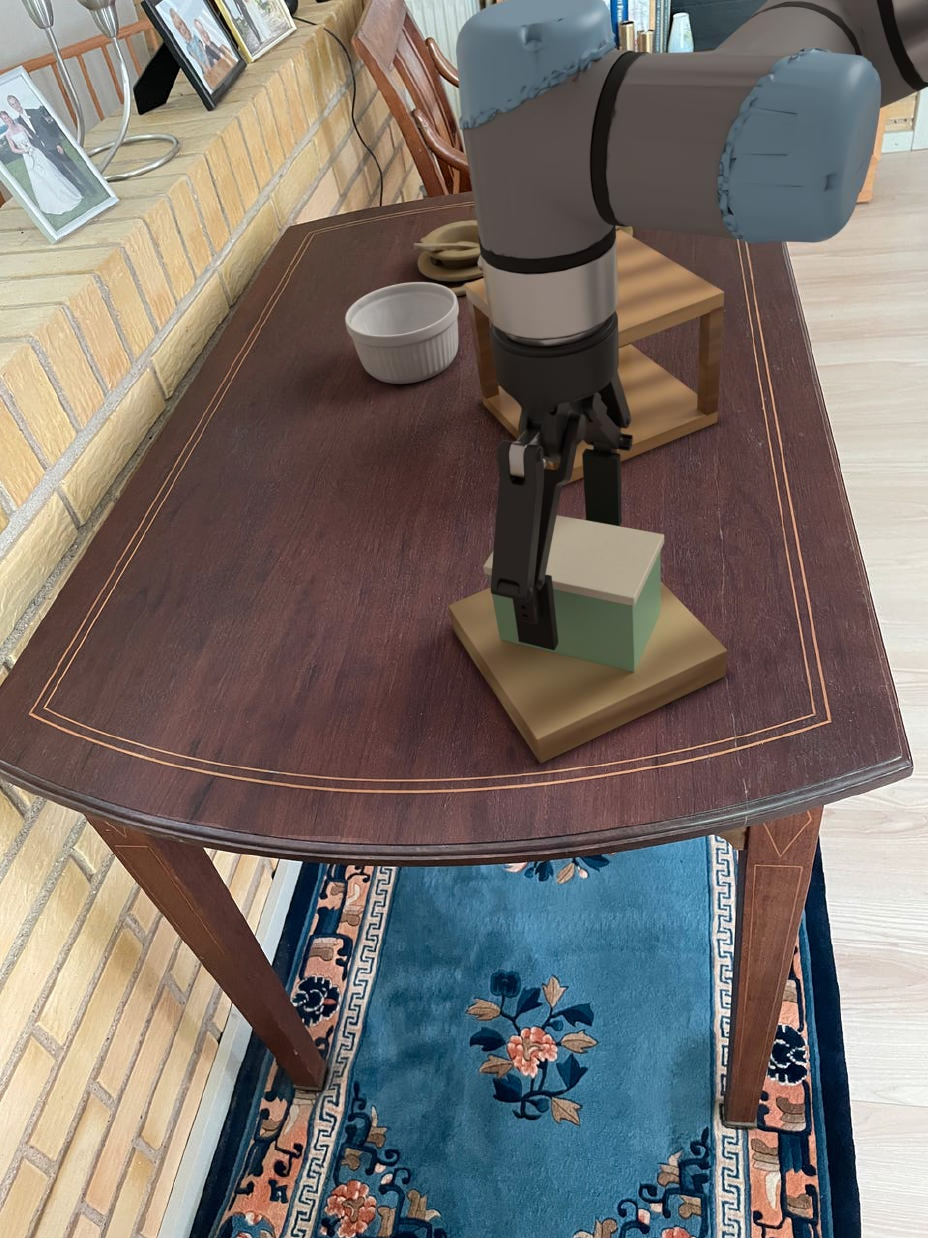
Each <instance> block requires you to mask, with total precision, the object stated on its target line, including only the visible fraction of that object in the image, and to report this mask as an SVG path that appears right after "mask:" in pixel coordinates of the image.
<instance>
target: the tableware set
mask: <svg viewBox="0 0 928 1238" xmlns="http://www.w3.org/2000/svg"><path fill="white" fill-rule="evenodd" d="M633 228H634V227H631V226H629V227H622V226H616V231H618V230H622V231H623V232H625V233H627V234H628V235H630V236H632V237H633V235H634V230H633ZM478 237H479V232H478V225H477V219H471V220H461V221H455V222H451V223H448V224H445V225H442V226H440V227H437V228H436V229H434V230H432V231H431V232H429V233H428V234H427V235H426V236H424V237H421V239H420V240H419V241H420V242H414V243H413V246H412V249H413V250H414V251H415V250H416V251H420V252H421V253H420V255H419V256H418V258H417V268H418V271H419V272H420V273H421V274H422V275H424V276H425V277H427V278H429V279H432V280H435V281H440V282H462V281H463V282H464V281H469V280H474V279H478V278H482V277H483V271H481V270H480V269H479V268H478V260H479V257H480V255H481V254H480V246H479V240H478ZM471 282H472V281H471ZM471 282H466V283H464V284H463V285H462V286H460V287H453V288H452V287H451V288H449V289H450V290H452V291H453V292H454V294H455V295H456V297H461V296H467V295H466V289H465V284H468V283H471Z"/></svg>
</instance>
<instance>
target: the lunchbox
mask: <svg viewBox="0 0 928 1238" xmlns="http://www.w3.org/2000/svg"><path fill="white" fill-rule="evenodd" d="M664 543H665V534H663V533H659V532H654V531H653V532H652V531H647V530H641V529H635V528H630V527H624V526H621V525H620V526H614V525H609V524H603V523H597V522H592V521H586V519H581V518H574V517H569V516H563V515H558V514H557V516H556V521H555V526H554V532H553V537H552V542H551V548H550V553H549V558H548V564H547V569H546V575H551V576H552V584H553V594H554V604H555V614H556V624H557V633H558V645H557V647H556V649H555V651H554V650H550V649H546V648H542V647H538V646H534V645H530V644H526V643H522V642H519V639H518V632H517V625H516V618H515V612H514V605H513V599H512V598H507V597H503V596H499V595H494V594H492V598H493V603H494V609H495V614H496V620H497V626H498V631H499V637H500V640H504V641H508V642H512V643H516V644H520V645H524V646H528V647H533V648H537V649H541V650H545V651H549V652H553V653H557V654H561V655H565V656H569V657H573V658H577V659H582V660H586V661H590V662H594V663H598V664H602V665H606V666H610V667H614V668H618V669H622V670H626V671H630V672H635V670H636V667H637V665H638V663H639V661H640V658H641V656H642V654H643V652H644V649H645V647H646V645H647V642H648V640H649V638H650V636H651V633H652V631H653V629H654V627H655V624H656V622H657V620H658V618H659V615H660V613H661V582H662V579H661V577H662V575H661V574H662V573H661V570H662V569H661V567H662V564H661V561H662V560H661V559H662V556H661V555H662V549H663V547H664ZM492 563H493V551H492V552H491V553H490V555H489V557H488V558H487V560H486V561H485V563H484V564H483V566H482V569H483V574H484V575H488V580H489V586H490V587H491V575H492ZM490 587H489V588H490Z"/></svg>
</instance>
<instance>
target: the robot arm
mask: <svg viewBox="0 0 928 1238" xmlns="http://www.w3.org/2000/svg"><path fill="white" fill-rule="evenodd" d="M615 37H616V34H615V33H614V32H613V25H612V17H611V11H610V9H609V7H608V5H607V4H606V2H605V1H604V0H502V1H499V2H495V3H493V4H491V5H489V6H487V7H485V8H482V9H481V10H480V11H478V12H476V13H475V14H472V15H471V16H470V17H469V19H468V20H466V21H465V23H464V24H463V25H462V27H461V29H460V30H459V33H458V35H457V39H456V44H455V55H456V67H457V68H456V69H457V80H458V93H459V107H460V117H459V119H458V124H459V130H461V131H462V137H463V143H464V149H465V154H466V155H465V156H466V161H467V166H468V173H469V178H470V184H471V191H472V197H473V205H474V212H475V219H476V220H477V225H478V232H479V237H478V240H479V246H480V254H481V255H480V257H479V260H478V268H479V269H480V270H481V271H483V276H482V277H483V278H484V284H485V292H486V300H487V307H488V315H489V321H490V322H491V325H490V337H491V345H492V353H493V360H494V368H495V375H496V379H497V381H498V386H501V388H502V389H503V390H504V391H505V392H506V393H508V394H509V395H510V396H511V397H513V398H514V399H515V400H516V401H517V402H518V404H519V405H520V406H521V415H520V420H519V426H518V430H519V432H520V437H519V438H518V439H516V441H512V440H507V439H502V440H500V441H499V443H498V446H497V451H496V455H497V469H498V470H497V471H498V490H497V502H496V514H495V526H494V538H493V539H494V540H493V550H492V552H493V563H492V575H491V593H492V594H494V595H499V596H503V597H507V598H512V599H513V605H514V612H515V618H516V625H517V632H518V639H519V642H522V643H526V644H530V645H534V646H538V647H542V648H546V649H550V650H554V651H555V649H556V647H557V645H558V633H557V624H556V614H555V604H554V594H553V584H552V576H551V575H546V569H547V564H548V558H549V553H550V548H551V542H552V537H553V532H554V526H555V521H556V516H557V515H558V509H559V505H560V499H561V494H562V489H563V486H565V485H567V484H566V483H568V482H569V481H570V480H571V476H572V471H573V466H574V461H575V455H576V450H577V445H579V444H580V443H581V442H582V440H583V441H584V442H585V443H587V444H588V445H592V446H593V449H585V450H584V452H583V454H582V461H583V491H584V507H585V508H584V509H585V520H586V521H592V522H597V523H603V524H609V525H614V526H620V527H621V524H622V522H623V509H622V468H621V467H622V466H621V463H622V462H620V454H618V453H617V449H618V450H625V451H630V450H631V447H632V443H633V436H632V435H629V434H622V432H621V431H620V430H621V428H626V429H627V428H628V427H629V424H630V422H631V414H630V410H629V407H628V404H627V400H626V397H625V394H624V391H623V387H622V384H621V381H620V377H619V374H618V371H617V370H618V366H619V338H618V316H617V313H616V311H615V309H616V308H617V306H618V299H619V296H618V267H617V239H616V226H622V227H629V226H631V227H632V228H640V229H641V228H642V229H650V230H655V231H656V230H657V231H665V232H672V233H673V232H674V233H683V234H690V235H691V234H692V235H698V236H699V235H700V236H708V237H717V238H724V239H732V240H739V241H740V242H745V243H747V244H753V245H756V244H763V245H764V244H765V245H766V244H769V243H771V242H772V243H773V242H775V243H776V242H779V243H780V242H781V243H813V244H814V243H821V242H825V241H828V240H830V239H831V238H833V237H835V236H836V235H838V234H839V233H840V232H841V231H842V230H843V229H844V228H845V227H846V225H847V224H848V222H849V221H850V219H851V217H852V215H853V214H854V211H855V210H856V206H857V203H858V199H859V195H860V193H862V191H863V188H864V185H865V183H866V179H867V176H868V172H869V170H870V169H869V168H870V165H871V160H872V156H873V152H874V148H875V144H876V138H877V134H878V133H877V132H878V128H879V127H878V126H879V121H880V113H881V109H883V108H884V107H887V106H889V105H892V104H893V103H896V102H898V101H901V100H902V99H905V98H908V97H909V96H912V95H914V94H915V93H918V92H920V91H922V90H925V89H926V88H928V0H767V1H766V2H764V4H763V5H762V6H761V7H759V8H758V9H757V10H756V11H755V12H754V13H753V14H752V15H751V16H750V17H748V19H747V20H746V21H745V22H744V23H743V24H742V25H740V26H739V27H738V28H737V29H736V30H735V31H734V32H733V33H732V34H731V35H729V36H728V37H727V38H726V39H725V40H724V41H723V42H721V44H719V45H718V46H717V47H716V48H715V49H714V50H710V51H693V52H692V51H689V52H687V51H686V52H685V51H684V52H683V51H681V52H649V51H634V50H631V49H624V50H623V49H620V50H619V49H617V48H616V45H617V43H616V42H615ZM547 461H549V462H555V463H560V466H559V468H558V469H556V470H552V469H546V464H547ZM564 484H565V485H564ZM568 484H569V483H568Z"/></svg>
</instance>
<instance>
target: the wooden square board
mask: <svg viewBox="0 0 928 1238" xmlns="http://www.w3.org/2000/svg"><path fill="white" fill-rule="evenodd" d="M447 608H448V612H449V617H450V621H451V626H452V630H453V631H454V634H455V635H456V636H457V638H458V639H459V641H460V643H461V644H462V646H463V648H464V649H465V650H466V652H467V653H468V655H469V656H470V658H471V659H472V661H473V662H474V664H475V665H476V667H477V669H478V670H479V672H480V673H481V674H482V676H483V677H484V679H485V681H486V683H487V684H488V686H489V687H490V689H491V690H492V692H493V693H494V694H495V697H496V698H497V699H498V701H499V702H500V704H501V705H502V707H503V708H504V710H505V712H506V713H507V715H508V716H509V717H510V719H511V721H512V722H513V724H514V725H515V727H516V728H517V730H518V732H519V733H520V735H521V736H522V737H523V739H524V740H525V742H526V744H527V745H528V747H529V748H530V750H531V752H532V753H533V754H534V756H535V757H536V759H537V761H538V762H539V763H540V764H543V763H546V762H548V761H549V760H551V759H553V758H555V757H558V756H560V755H562V754H565V753H566V752H568V751H570V750H573V749H575V748H577V747H579V746H581V745H583V744H585V743H587V742H589V741H591V740H593V739H596V738H598V737H601V736H602V735H604V734H606V733H608V732H611V731H612V730H615V729H617V728H619V727H622V726H623V725H626V724H627V723H629V722H632V721H633V720H636V719H638V718H640V717H642V716H644V715H646V714H648V713H651V712H652V711H655V710H657V709H659V708H662V707H663V706H665V705H668V704H669V703H672V702H674V701H676V700H678V699H680V698H682V697H684V696H686V695H689V694H691V693H693V692H695V691H698V690H699V689H701V688H703V687H705V686H708V685H709V684H711V683H713V682H716V681H718V680H720V679H722V678H725V677H726V671H727V670H726V669H727V658H728V657H727V656H728V650H727V649H726V648H725V646H724V645H723V644H722V643H721V642H719V640H718V639H717V638H716V637H715V636H714V635H713V634H712V633H711V632H710V631H709V630H708V629H707V628H706V626H704V624H703V623H702V622H701V621H700V620H699V619H697V617H696V616H695V615H694V614H693V613H692V612H691V611H690V610H689V609H688V608H687V607H686V606H685V605H684V604H683V603H682V602H681V601H680V600H679V599H678V598H677V596H676V595H675V594H674V593H673V592H672V591H671V590H670V589H669V588H668V587H667V586H666V585H665V584H664V583H663V582H662V581H661V613H660V615H659V618H658V620H657V622H656V624H655V627H654V629H653V631H652V633H651V636H650V638H649V640H648V642H647V645H646V647H645V649H644V652H643V654H642V656H641V658H640V661H639V663H638V665H637V667H636V670H635V672H630V671H626V670H622V669H618V668H614V667H610V666H606V665H602V664H598V663H594V662H590V661H586V660H582V659H577V658H573V657H569V656H565V655H561V654H557V653H553V652H549V651H545V650H541V649H537V648H533V647H528V646H524V645H520V644H516V643H512V642H508V641H504V640H500V637H499V631H498V626H497V620H496V614H495V609H494V603H493V598H492V593H491V587H488V588H485V589H483V590H481V591H478V592H476V593H474V594H471V595H468V596H466V597H465V598H462V599H459V600H458V601H455V602H453V603H450V604H449V605H447Z"/></svg>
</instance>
